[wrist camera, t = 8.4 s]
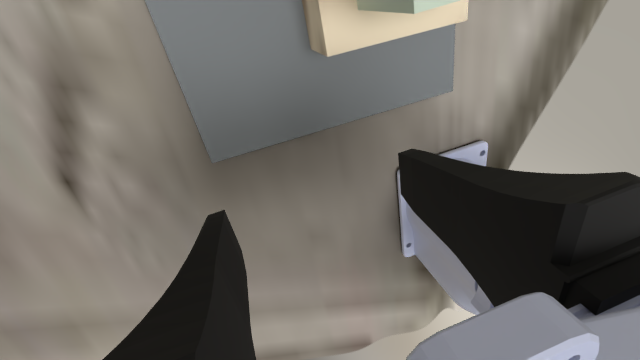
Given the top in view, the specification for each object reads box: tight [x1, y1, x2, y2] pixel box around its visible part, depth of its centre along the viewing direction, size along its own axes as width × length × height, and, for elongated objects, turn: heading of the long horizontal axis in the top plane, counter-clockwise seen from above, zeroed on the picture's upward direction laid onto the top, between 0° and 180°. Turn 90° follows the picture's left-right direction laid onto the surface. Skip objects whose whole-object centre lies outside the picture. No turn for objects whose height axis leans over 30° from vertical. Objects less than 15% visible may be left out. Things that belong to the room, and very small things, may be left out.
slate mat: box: [145, 0, 455, 163], centre depth 18 cm, size 14×17×1 cm
